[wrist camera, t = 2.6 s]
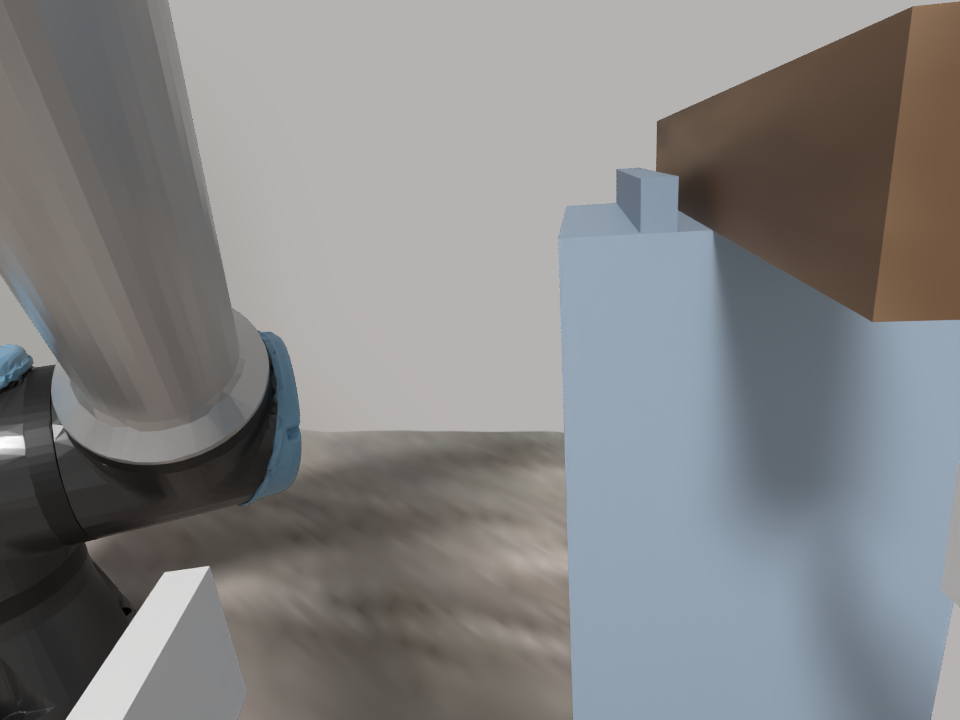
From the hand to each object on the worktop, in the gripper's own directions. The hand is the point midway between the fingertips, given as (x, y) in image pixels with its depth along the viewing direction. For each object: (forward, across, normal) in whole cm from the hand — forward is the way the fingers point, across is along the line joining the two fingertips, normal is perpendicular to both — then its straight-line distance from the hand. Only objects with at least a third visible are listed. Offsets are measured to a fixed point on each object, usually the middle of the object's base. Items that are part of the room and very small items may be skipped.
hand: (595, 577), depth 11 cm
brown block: (+9, +8, +4) cm, 13 cm away
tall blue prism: (+13, +7, -26) cm, 30 cm away
